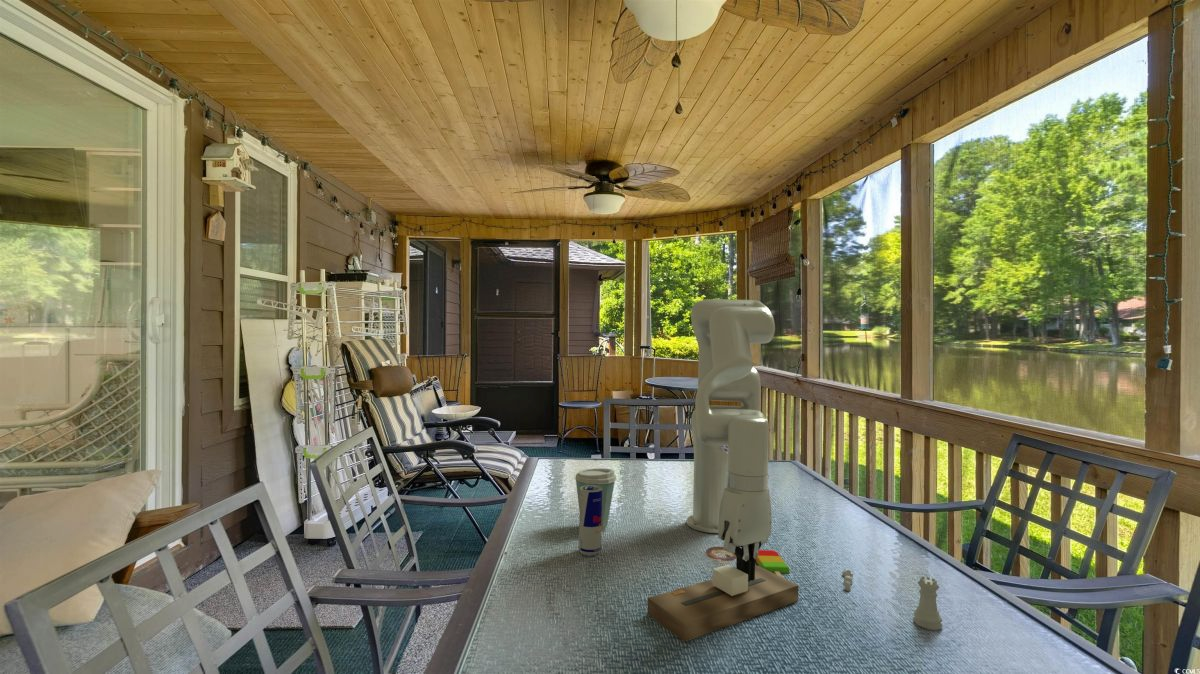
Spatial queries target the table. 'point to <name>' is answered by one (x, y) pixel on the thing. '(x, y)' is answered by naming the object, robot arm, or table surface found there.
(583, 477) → the disposable coffee cup
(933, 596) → the rook chess piece
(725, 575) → the fader knob
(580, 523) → the beverage can
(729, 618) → the console
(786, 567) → the popsicle
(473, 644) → the table surface
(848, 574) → the game pieces
